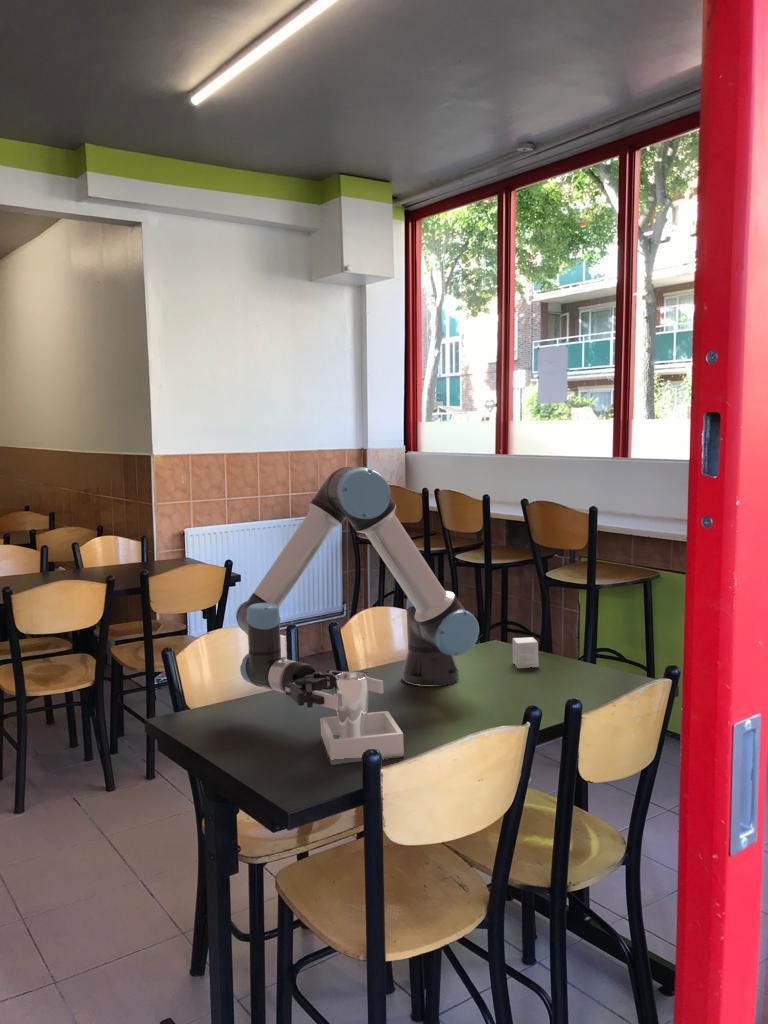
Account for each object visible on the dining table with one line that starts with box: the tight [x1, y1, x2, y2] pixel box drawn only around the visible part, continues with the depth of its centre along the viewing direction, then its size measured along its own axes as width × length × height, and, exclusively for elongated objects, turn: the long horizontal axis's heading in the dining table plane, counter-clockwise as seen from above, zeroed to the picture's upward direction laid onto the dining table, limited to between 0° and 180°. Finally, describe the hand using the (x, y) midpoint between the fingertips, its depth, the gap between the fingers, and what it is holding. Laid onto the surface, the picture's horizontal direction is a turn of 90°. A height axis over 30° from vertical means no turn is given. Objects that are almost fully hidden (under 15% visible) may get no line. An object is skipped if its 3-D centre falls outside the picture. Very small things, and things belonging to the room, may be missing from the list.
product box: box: [512, 636, 540, 669], centre depth 238 cm, size 6×6×7 cm
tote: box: [319, 710, 405, 761], centre depth 178 cm, size 15×15×5 cm
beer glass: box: [334, 671, 369, 739], centre depth 176 cm, size 7×7×15 cm
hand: (360, 694), depth 178 cm, fingers open, 13 cm apart
